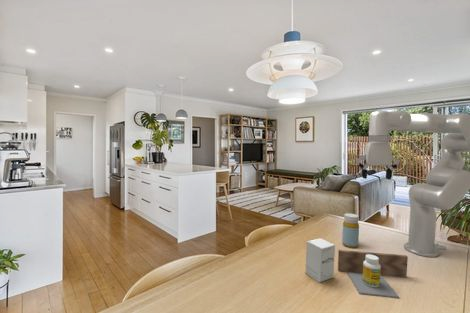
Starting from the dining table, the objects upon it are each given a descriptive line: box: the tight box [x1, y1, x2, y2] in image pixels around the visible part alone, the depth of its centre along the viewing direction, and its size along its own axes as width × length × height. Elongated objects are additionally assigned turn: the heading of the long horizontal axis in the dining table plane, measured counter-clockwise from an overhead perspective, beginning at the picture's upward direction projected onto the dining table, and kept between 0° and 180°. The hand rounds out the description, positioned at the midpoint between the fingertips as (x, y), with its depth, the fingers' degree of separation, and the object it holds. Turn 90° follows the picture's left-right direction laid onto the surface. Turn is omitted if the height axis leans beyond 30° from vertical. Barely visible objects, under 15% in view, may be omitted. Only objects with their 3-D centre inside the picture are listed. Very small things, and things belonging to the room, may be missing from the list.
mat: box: [347, 272, 400, 299], centre depth 83 cm, size 12×12×1 cm
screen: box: [337, 249, 409, 278], centre depth 90 cm, size 24×1×8 cm, turn 81°
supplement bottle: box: [362, 254, 381, 287], centre depth 83 cm, size 5×5×10 cm
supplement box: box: [305, 237, 336, 283], centre depth 88 cm, size 7×7×13 cm
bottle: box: [341, 212, 360, 249], centre depth 114 cm, size 7×7×15 cm
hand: (376, 178), depth 104 cm, fingers open, 9 cm apart
